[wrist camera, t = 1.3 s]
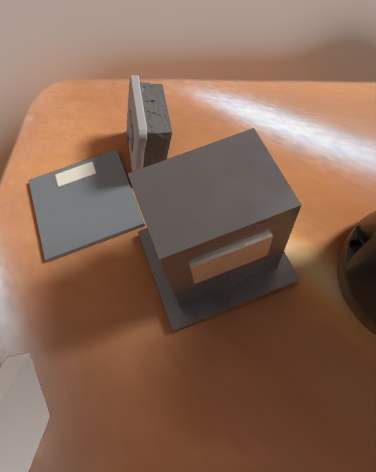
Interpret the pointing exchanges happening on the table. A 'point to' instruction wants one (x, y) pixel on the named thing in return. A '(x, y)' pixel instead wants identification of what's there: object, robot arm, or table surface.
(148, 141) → the electrical switch
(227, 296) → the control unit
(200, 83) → the table surface
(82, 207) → the pad
